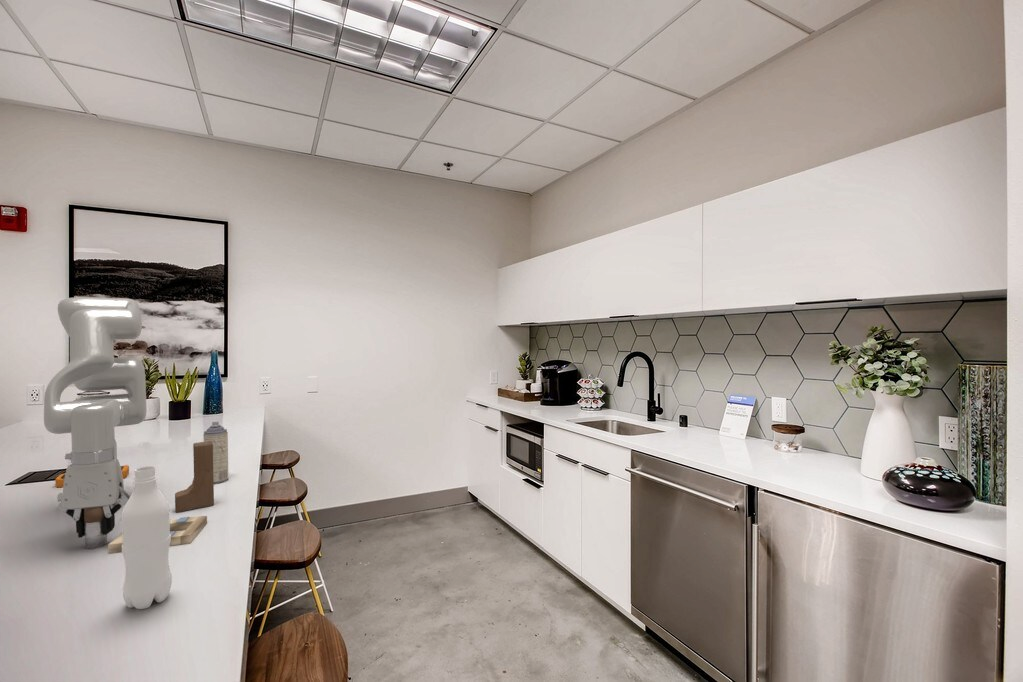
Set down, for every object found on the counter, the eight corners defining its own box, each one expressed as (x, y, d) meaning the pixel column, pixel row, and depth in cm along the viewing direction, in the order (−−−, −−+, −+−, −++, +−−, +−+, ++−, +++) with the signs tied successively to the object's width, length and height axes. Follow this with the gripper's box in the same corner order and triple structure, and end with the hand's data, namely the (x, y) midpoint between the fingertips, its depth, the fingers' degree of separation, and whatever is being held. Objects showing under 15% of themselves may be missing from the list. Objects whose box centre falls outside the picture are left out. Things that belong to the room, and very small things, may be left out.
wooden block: (175, 513, 128) (174, 448, 127) (175, 508, 131) (173, 445, 131) (214, 505, 133) (213, 443, 133) (212, 500, 137) (211, 440, 136)
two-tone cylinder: (80, 549, 107) (79, 498, 106) (90, 542, 110) (89, 492, 110) (102, 547, 108) (100, 496, 108) (111, 539, 112) (109, 490, 111)
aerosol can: (232, 477, 159) (230, 419, 158) (222, 483, 152) (221, 423, 152) (210, 478, 158) (209, 420, 157) (200, 485, 151) (199, 424, 151)
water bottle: (141, 591, 89) (138, 463, 89) (180, 589, 90) (177, 462, 89) (112, 614, 82) (109, 475, 82) (155, 612, 83) (152, 474, 82)
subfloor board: (108, 553, 105) (108, 543, 105) (133, 531, 116) (133, 522, 116) (190, 543, 110) (190, 534, 110) (207, 523, 121) (206, 514, 121)
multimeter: (60, 482, 155) (60, 472, 155) (129, 473, 165) (129, 463, 165) (53, 490, 148) (53, 479, 148) (126, 479, 158) (126, 469, 158)
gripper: (38, 464, 102) (40, 546, 103) (129, 457, 108) (130, 535, 108) (59, 455, 110) (61, 532, 110) (143, 449, 115) (145, 522, 115)
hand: (95, 532), depth 109 cm, fingers closed on two-tone cylinder, 4 cm apart
